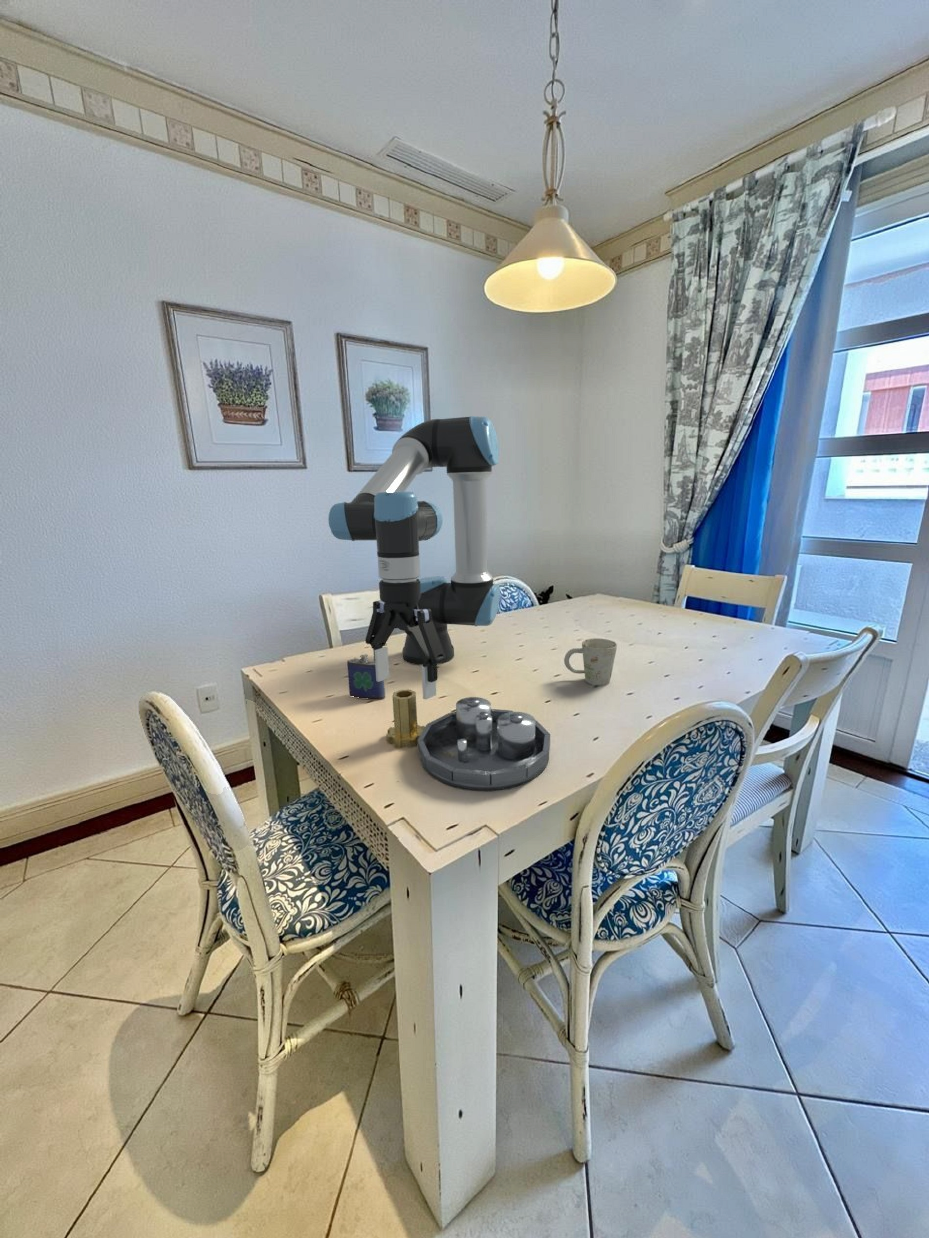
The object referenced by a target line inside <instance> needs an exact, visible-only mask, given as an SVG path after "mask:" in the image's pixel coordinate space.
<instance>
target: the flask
mask: <svg viewBox="0 0 929 1238" xmlns="http://www.w3.org/2000/svg"><path fill="white" fill-rule="evenodd" d="M368 656H369V655H368V654H366V653H364V654H360V655H359V657H360V659H359V658H356V657H354V658H351V659H348V660H347V662H346V663H347V665H346V666H347V676H348V691H349V697H350V696H354V697H359V698H368V699H367V700H375V699H378V700H380V699H381V700H384V699H385V698H386V687H385V680H383V681H380V682H378V681H376V667H375V662H374V660H368ZM359 698H358V699H359Z"/></svg>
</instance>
